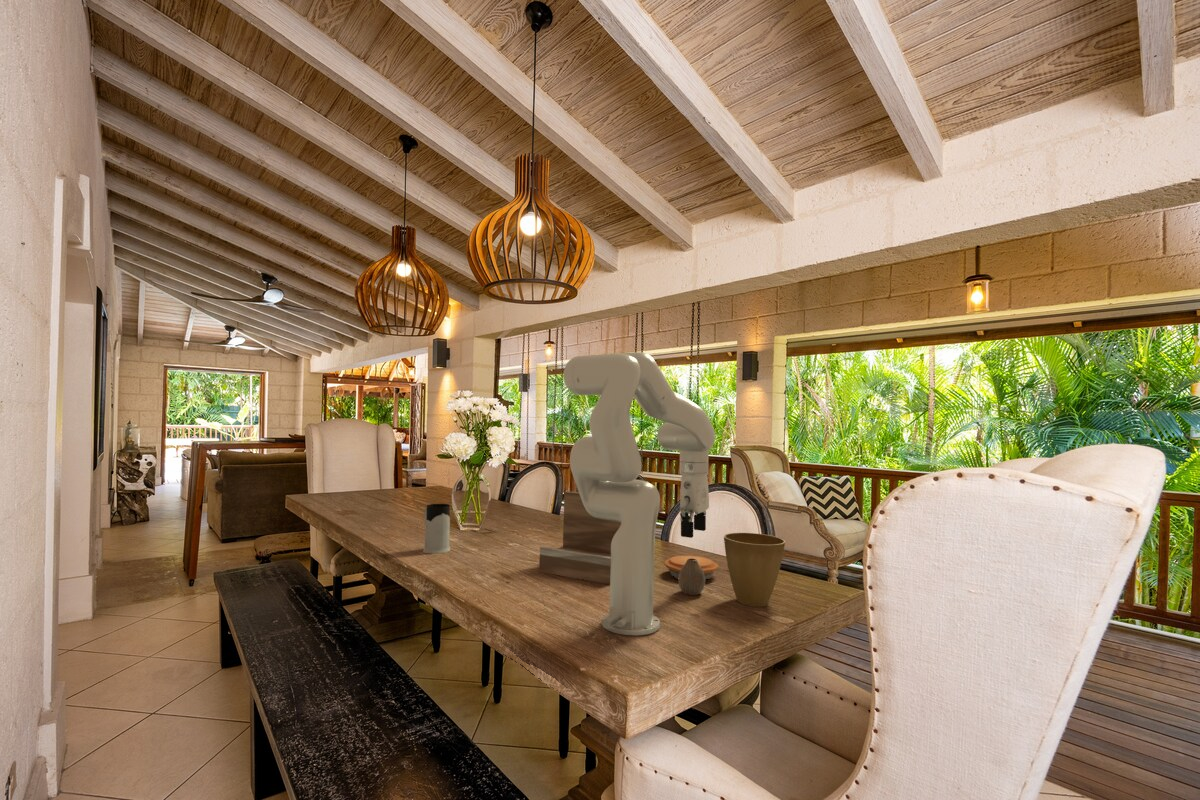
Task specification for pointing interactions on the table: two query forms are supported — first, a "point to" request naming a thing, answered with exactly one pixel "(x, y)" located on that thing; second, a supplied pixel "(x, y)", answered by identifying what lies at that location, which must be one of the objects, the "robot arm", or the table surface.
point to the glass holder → (437, 528)
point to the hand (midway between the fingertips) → (693, 533)
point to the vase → (691, 577)
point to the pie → (679, 561)
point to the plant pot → (753, 565)
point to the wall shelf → (581, 544)
